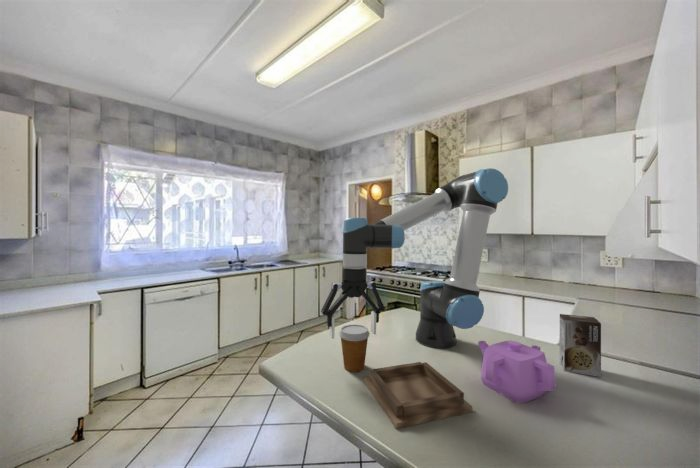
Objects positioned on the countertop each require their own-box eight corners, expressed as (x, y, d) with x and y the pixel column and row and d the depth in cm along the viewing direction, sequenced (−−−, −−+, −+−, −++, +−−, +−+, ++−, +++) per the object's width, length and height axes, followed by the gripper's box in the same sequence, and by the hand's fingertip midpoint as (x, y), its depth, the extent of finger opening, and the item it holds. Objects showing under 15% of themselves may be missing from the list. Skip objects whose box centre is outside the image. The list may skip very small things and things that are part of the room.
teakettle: (485, 399, 73) (486, 351, 73) (476, 368, 89) (477, 328, 89) (563, 411, 68) (564, 360, 68) (538, 376, 84) (539, 335, 84)
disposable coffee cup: (367, 376, 84) (367, 335, 84) (335, 372, 86) (335, 333, 85) (371, 361, 93) (371, 325, 93) (342, 358, 95) (342, 323, 95)
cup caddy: (425, 371, 87) (425, 359, 87) (472, 411, 68) (472, 396, 68) (364, 381, 81) (364, 368, 81) (396, 428, 62) (396, 412, 62)
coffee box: (593, 368, 89) (594, 316, 89) (601, 377, 83) (602, 323, 83) (558, 362, 93) (559, 313, 93) (563, 371, 87) (564, 318, 87)
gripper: (386, 264, 96) (384, 327, 96) (312, 266, 89) (311, 334, 89) (396, 267, 89) (394, 335, 89) (317, 269, 81) (316, 343, 82)
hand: (353, 334), depth 89 cm, fingers open, 13 cm apart
